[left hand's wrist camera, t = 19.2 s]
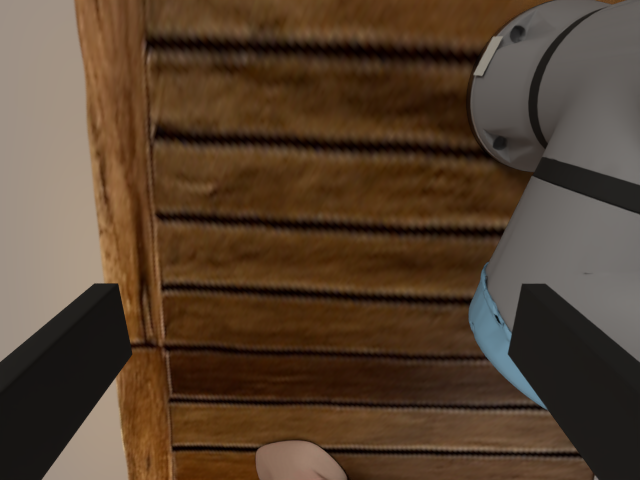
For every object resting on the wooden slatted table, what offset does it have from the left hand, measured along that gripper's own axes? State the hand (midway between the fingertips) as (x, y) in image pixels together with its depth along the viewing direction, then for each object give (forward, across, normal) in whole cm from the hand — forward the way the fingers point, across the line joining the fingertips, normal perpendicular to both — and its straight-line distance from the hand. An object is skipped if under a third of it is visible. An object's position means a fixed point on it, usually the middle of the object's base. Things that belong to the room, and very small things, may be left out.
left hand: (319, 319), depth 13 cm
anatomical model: (+30, -3, -44) cm, 53 cm away
